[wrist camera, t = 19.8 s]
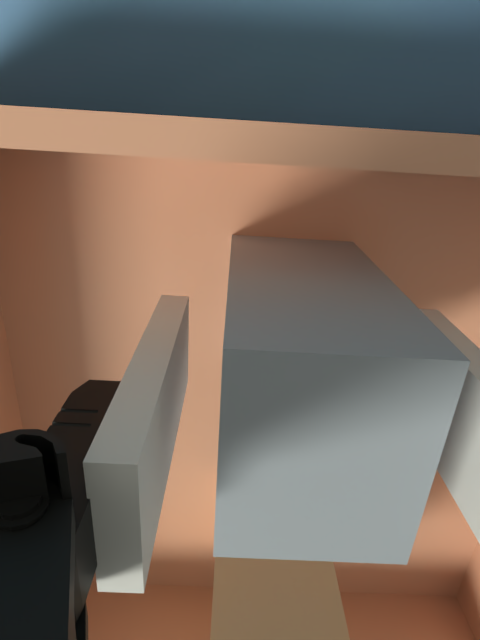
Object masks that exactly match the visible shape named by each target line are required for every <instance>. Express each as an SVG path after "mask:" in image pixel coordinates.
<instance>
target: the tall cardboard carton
mask: <svg viewBox="0 0 480 640" xmlns="http://www.w3.org/2000/svg"><path fill="white" fill-rule="evenodd" d="M210 640H350V638H349V633H348V628H347V624H346V619H345V614H344V610H343V605H342V600H341V596H340V591H339V586H338V581H337V577H336V572H335V567H334V563H333V562H329V561H304V560H279V559H255V558H230V557H215V565H214V582H213V599H212V616H211V633H210Z"/></svg>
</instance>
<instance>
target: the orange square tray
mask: <svg viewBox="0 0 480 640" xmlns="http://www.w3.org/2000/svg"><path fill="white" fill-rule="evenodd" d="M232 235H244V236H262V237H279V238H297V239H314V240H332V241H349V242H354V243H355V244H356V245H357V246H358V247H359V248H360V249H361V250H362V251H363V252H364V253H365V254H366V255H367V256H368V257H369V258H370V260H371V261H372V262H373V263H374V264H375V265H376V266H377V267H378V268H379V269H380V270H381V271H382V272H383V273H384V274H385V275H386V276H387V277H388V278H389V279H390V280H391V281H392V282H393V283H394V284H395V285H396V286H397V287H398V288H399V289H400V290H401V291H402V292H403V293H404V294H405V295H406V296H407V297H408V298H409V299H410V300H411V301H412V302H413V303H414V304H415V305H416V306H417V307H418V308H419V309H432V310H438V311H439V312H441V313H442V314H443V315H444V316H445V317H446V318H447V319H448V320H449V321H450V322H451V323H452V324H454V325H455V326H456V327H457V328H458V329H459V330H460V331H461V332H462V333H463V334H464V335H465V336H466V337H468V338H469V339H470V340H471V341H472V342H473V343H474V344H475V345H476V346H477V347H478V348H479V349H480V135H471V134H455V133H439V132H423V131H408V130H392V129H376V128H360V127H344V126H328V125H312V124H296V123H280V122H264V121H248V120H232V119H216V118H200V117H184V116H169V115H153V114H137V113H121V112H105V111H89V110H73V109H57V108H41V107H25V106H9V105H0V434H1V433H5V432H10V431H14V430H18V429H39V430H43V431H47V429H48V428H49V426H50V425H52V422H53V420H54V418H55V417H56V415H57V414H58V412H60V411H61V407H62V406H63V404H64V403H65V401H66V400H67V398H68V397H69V395H70V393H71V392H72V391H74V390H75V389H77V388H78V387H80V386H81V385H82V384H84V383H85V382H87V381H88V380H108V381H121V380H122V378H123V376H124V374H125V371H126V369H127V367H128V365H129V363H130V361H131V359H132V357H133V354H134V352H135V350H136V348H137V346H138V344H139V342H140V340H141V337H142V335H143V333H144V331H145V329H146V327H147V325H148V323H149V320H150V318H151V316H152V314H153V312H154V310H155V308H156V306H157V303H158V301H159V299H160V297H161V295H171V296H189V334H188V383H187V388H186V393H185V398H184V403H183V407H182V412H181V417H180V422H179V427H178V432H177V436H176V441H175V446H174V451H173V456H172V460H171V465H170V470H169V475H168V480H167V485H166V489H165V494H164V499H163V504H162V509H161V514H160V518H159V523H158V528H157V533H156V538H155V543H154V547H153V552H152V557H151V562H150V567H149V572H148V576H147V581H146V586H145V591H144V593H119V592H98V590H97V582H96V573H95V574H94V577H93V580H92V583H91V586H90V589H89V593H88V596H87V599H86V605H87V612H88V640H210V633H211V616H212V599H213V582H214V565H215V557H213V548H214V527H215V506H216V484H217V463H218V442H219V420H220V399H221V378H222V356H223V340H224V328H225V315H226V303H227V290H228V278H229V265H230V253H231V240H232ZM333 563H334V567H335V572H336V577H337V581H338V586H339V591H340V596H341V600H342V605H343V610H344V614H345V619H346V624H347V628H348V633H349V638H350V640H480V544H479V542H478V540H477V538H476V537H475V535H474V533H473V531H472V530H471V528H470V526H469V524H468V523H467V521H466V519H465V518H464V516H463V514H462V512H461V511H460V509H459V507H458V505H457V504H456V502H455V500H454V498H453V497H452V495H451V493H450V491H449V490H448V488H447V486H446V484H445V483H444V481H443V479H442V477H441V476H440V474H439V472H438V470H436V474H435V477H434V480H433V483H432V486H431V490H430V493H429V496H428V499H427V502H426V506H425V509H424V512H423V515H422V518H421V522H420V525H419V528H418V531H417V534H416V538H415V541H414V544H413V547H412V550H411V554H410V557H409V560H408V563H407V565H402V564H378V563H353V562H333Z"/></svg>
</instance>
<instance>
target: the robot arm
mask: <svg viewBox="0 0 480 640" xmlns="http://www.w3.org/2000/svg"><path fill="white" fill-rule="evenodd" d="M420 310H421V311H422V312H423V313H424V314H425V315H426V316H427V317H428V319H429V320H430V321H431V322H432V323H433V324H434V325H435V326H436V327H437V328H438V329H439V330H440V331H441V332H442V333H443V334H444V335H445V336H446V337H447V338H448V339H449V340H450V341H451V342H452V343H453V344H454V345H455V346H456V347H457V348H458V349H459V350H460V351H461V352H462V353H463V354H464V355H465V356H466V357H467V358H468V359H469V360H470V361H471V362H470V365H469V368H468V371H467V374H466V378H465V381H464V384H463V387H462V390H461V394H460V397H459V400H458V403H457V406H456V410H455V413H454V416H453V419H452V422H451V426H450V429H449V432H448V435H447V438H446V442H445V445H444V448H443V451H442V454H441V458H440V461H439V464H438V467H437V470H438V472H439V474H440V476H441V477H442V479H443V481H444V483H445V484H446V486H447V488H448V490H449V491H450V493H451V495H452V497H453V498H454V500H455V502H456V504H457V505H458V507H459V509H460V511H461V512H462V514H463V516H464V518H465V519H466V521H467V523H468V524H469V526H470V528H471V530H472V531H473V533H474V535H475V537H476V538H477V540H478V542H479V544H480V349H479V348H478V347H477V346H476V345H475V344H474V343H473V342H472V341H471V340H470V339H469V338H468V337H466V336H465V335H464V334H463V333H462V332H461V331H460V330H459V329H458V328H457V327H456V326H455V325H454V324H452V323H451V322H450V321H449V320H448V319H447V318H446V317H445V316H444V315H443V314H442V313H441V312H439V311H438V310H432V309H420ZM188 334H189V296H171V295H161V297H160V299H159V301H158V303H157V306H156V308H155V310H154V312H153V314H152V316H151V318H150V320H149V323H148V325H147V327H146V329H145V331H144V333H143V335H142V337H141V340H140V342H139V344H138V346H137V348H136V350H135V352H134V354H133V357H132V359H131V361H130V363H129V365H128V367H127V369H126V371H125V374H124V376H123V378H122V380H121V381H108V380H88V381H87V382H85V383H84V384H82V385H81V386H80V387H78V388H77V389H75V390H74V391H72V392H71V393H70V395H69V397H68V398H67V400H66V401H65V403H64V404H63V406H62V407H61V411H60V412H58V414H57V415H56V417H55V418H54V420H53V422H52V425H50V426H49V428H48V429H47V431H43V430H39V429H18V430H14V431H10V432H5V433H1V434H0V640H88V612H87V605H86V599H87V596H88V593H89V589H90V586H91V583H92V580H93V577H94V574H95V573H96V582H97V590H98V592H119V593H144V591H145V586H146V581H147V576H148V572H149V567H150V562H151V557H152V552H153V547H154V543H155V538H156V533H157V528H158V523H159V518H160V514H161V509H162V504H163V499H164V494H165V489H166V485H167V480H168V475H169V470H170V465H171V460H172V456H173V451H174V446H175V441H176V436H177V432H178V427H179V422H180V417H181V412H182V407H183V403H184V398H185V393H186V388H187V383H188Z"/></svg>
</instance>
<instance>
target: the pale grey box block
mask: <svg viewBox="0 0 480 640" xmlns="http://www.w3.org/2000/svg"><path fill="white" fill-rule="evenodd" d="M470 362H471V361H470V360H469V359H468V358H467V357H466V356H465V355H464V354H463V353H462V352H461V351H460V350H459V349H458V348H457V347H456V346H455V345H454V344H453V343H452V342H451V341H450V340H449V339H448V338H447V337H446V336H445V335H444V334H443V333H442V332H441V331H440V330H439V329H438V328H437V327H436V326H435V325H434V324H433V323H432V322H431V321H430V320H429V319H428V317H427V316H426V315H425V314H424V313H423V312H422V311H421V310H420V309H419V308H418V307H417V306H416V305H415V304H414V303H413V302H412V301H411V300H410V299H409V298H408V297H407V296H406V295H405V294H404V293H403V292H402V291H401V290H400V289H399V288H398V287H397V286H396V285H395V284H394V283H393V282H392V281H391V280H390V279H389V278H388V277H387V276H386V275H385V274H384V273H383V272H382V271H381V270H380V269H379V268H378V267H377V266H376V265H375V264H374V263H373V262H372V261H371V260H370V258H369V257H368V256H367V255H366V254H365V253H364V252H363V251H362V250H361V249H360V248H359V247H358V246H357V245H356V244H355V243H354V242H349V241H332V240H314V239H297V238H279V237H262V236H244V235H232V240H231V253H230V265H229V278H228V290H227V303H226V315H225V328H224V340H223V356H222V378H221V399H220V420H219V442H218V463H217V484H216V506H215V527H214V548H213V557H230V558H255V559H279V560H304V561H329V562H353V563H378V564H402V565H407V563H408V560H409V557H410V554H411V550H412V547H413V544H414V541H415V538H416V534H417V531H418V528H419V525H420V522H421V518H422V515H423V512H424V509H425V506H426V502H427V499H428V496H429V493H430V490H431V486H432V483H433V480H434V477H435V474H436V470H437V467H438V464H439V461H440V458H441V454H442V451H443V448H444V445H445V442H446V438H447V435H448V432H449V429H450V426H451V422H452V419H453V416H454V413H455V410H456V406H457V403H458V400H459V397H460V394H461V390H462V387H463V384H464V381H465V378H466V374H467V371H468V368H469V365H470Z"/></svg>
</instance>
